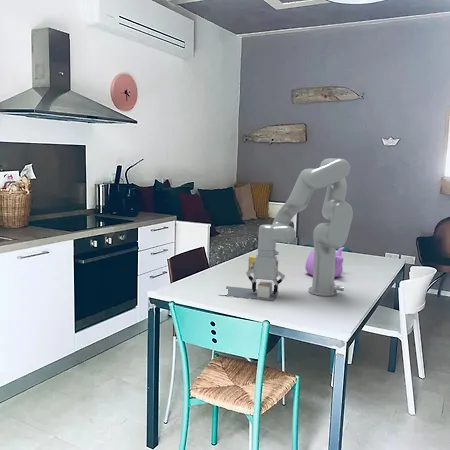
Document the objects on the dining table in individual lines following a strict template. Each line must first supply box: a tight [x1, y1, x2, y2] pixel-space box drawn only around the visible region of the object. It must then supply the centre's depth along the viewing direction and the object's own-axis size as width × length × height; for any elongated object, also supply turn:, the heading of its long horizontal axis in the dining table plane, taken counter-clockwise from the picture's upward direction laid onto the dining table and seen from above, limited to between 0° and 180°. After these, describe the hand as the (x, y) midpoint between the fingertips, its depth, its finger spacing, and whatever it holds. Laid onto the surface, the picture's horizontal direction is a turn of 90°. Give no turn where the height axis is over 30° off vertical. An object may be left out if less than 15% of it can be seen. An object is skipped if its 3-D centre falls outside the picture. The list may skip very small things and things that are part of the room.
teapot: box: [304, 246, 345, 278], centre depth 240 cm, size 23×21×15 cm
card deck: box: [256, 279, 274, 298], centre depth 201 cm, size 5×9×5 cm, turn 165°
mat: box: [225, 285, 279, 302], centre depth 203 cm, size 24×14×1 cm, turn 75°
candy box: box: [247, 255, 279, 272], centre depth 240 cm, size 16×2×8 cm, turn 62°
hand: (264, 292), depth 201 cm, fingers open, 8 cm apart
